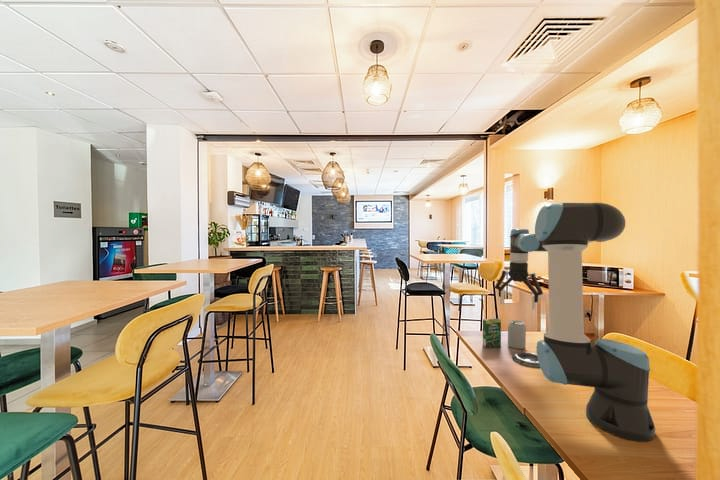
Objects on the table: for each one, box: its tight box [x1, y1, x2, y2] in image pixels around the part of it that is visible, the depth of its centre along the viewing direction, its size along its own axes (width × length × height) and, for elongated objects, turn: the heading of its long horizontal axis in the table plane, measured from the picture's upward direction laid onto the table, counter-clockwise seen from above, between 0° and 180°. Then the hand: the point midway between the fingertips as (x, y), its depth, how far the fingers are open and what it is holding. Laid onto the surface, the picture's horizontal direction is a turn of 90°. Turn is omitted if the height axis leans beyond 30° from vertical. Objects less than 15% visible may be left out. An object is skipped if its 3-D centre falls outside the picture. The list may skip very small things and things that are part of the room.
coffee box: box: [482, 318, 502, 349], centre depth 142 cm, size 8×3×13 cm, turn 98°
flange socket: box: [511, 351, 541, 369], centre depth 128 cm, size 13×13×2 cm
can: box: [507, 319, 527, 350], centre depth 142 cm, size 8×8×12 cm
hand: (517, 306), depth 142 cm, fingers open, 13 cm apart
